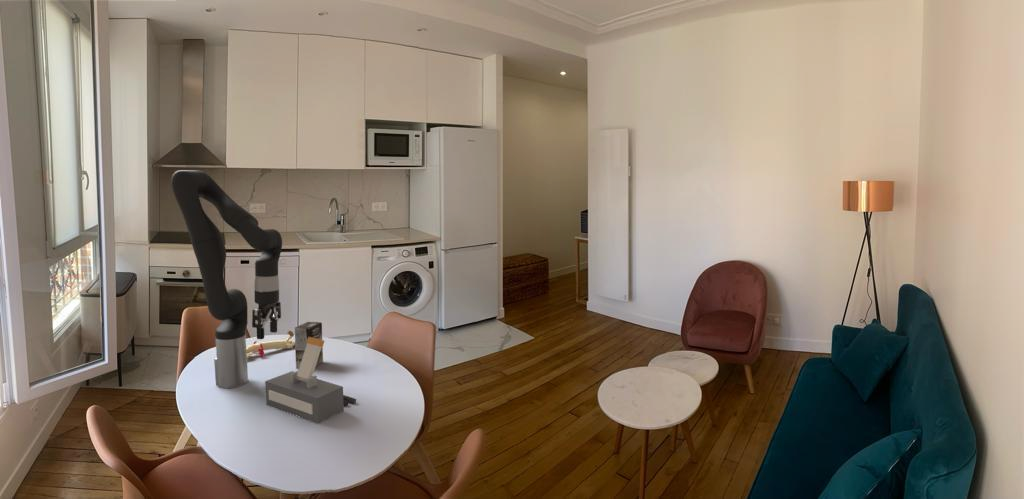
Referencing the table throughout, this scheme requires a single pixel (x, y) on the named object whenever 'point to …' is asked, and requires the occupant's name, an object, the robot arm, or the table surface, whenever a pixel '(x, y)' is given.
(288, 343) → the cat figure
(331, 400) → the block
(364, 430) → the table surface
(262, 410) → the table surface
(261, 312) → the robot arm
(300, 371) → the breaker lever
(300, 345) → the coffee box
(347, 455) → the table surface
